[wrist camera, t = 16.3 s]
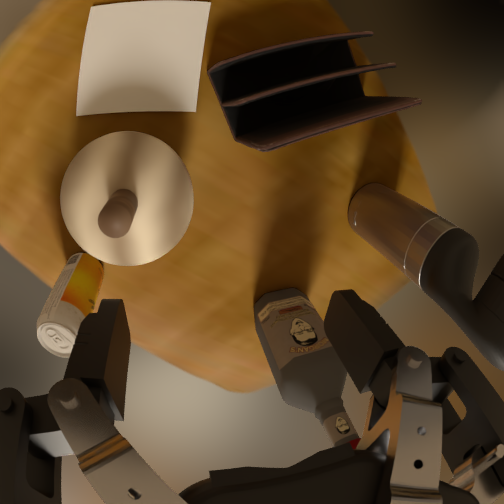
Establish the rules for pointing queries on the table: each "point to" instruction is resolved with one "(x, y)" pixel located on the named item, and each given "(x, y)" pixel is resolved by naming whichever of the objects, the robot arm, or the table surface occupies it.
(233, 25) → the table surface
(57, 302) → the beer can
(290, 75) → the letter holder
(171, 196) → the lid
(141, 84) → the mat
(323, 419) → the liquor
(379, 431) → the robot arm
